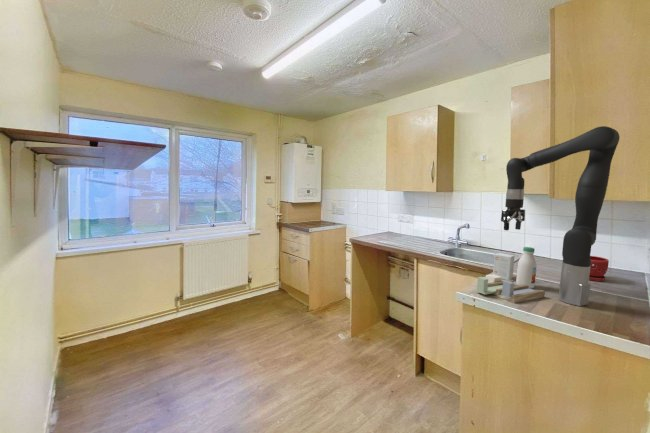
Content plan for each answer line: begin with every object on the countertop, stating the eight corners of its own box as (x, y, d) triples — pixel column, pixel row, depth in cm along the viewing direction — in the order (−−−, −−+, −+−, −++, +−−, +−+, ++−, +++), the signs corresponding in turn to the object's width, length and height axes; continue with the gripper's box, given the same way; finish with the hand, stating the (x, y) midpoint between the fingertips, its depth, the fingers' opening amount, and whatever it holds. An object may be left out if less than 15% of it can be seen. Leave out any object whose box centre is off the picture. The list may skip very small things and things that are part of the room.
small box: (512, 278, 156) (515, 255, 154) (508, 280, 152) (510, 257, 150) (496, 274, 162) (498, 252, 160) (492, 276, 158) (494, 254, 156)
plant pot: (595, 275, 163) (598, 255, 161) (612, 283, 150) (615, 261, 148) (569, 273, 166) (571, 253, 164) (583, 281, 153) (585, 259, 152)
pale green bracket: (513, 289, 136) (515, 276, 135) (484, 294, 129) (485, 280, 128) (504, 286, 140) (505, 272, 140) (475, 290, 134) (476, 276, 133)
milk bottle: (526, 289, 139) (530, 250, 137) (512, 284, 147) (515, 246, 144) (538, 288, 141) (542, 249, 139) (523, 282, 149) (527, 245, 146)
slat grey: (539, 293, 131) (541, 279, 131) (510, 298, 125) (512, 284, 124) (528, 289, 136) (530, 276, 135) (500, 294, 129) (501, 280, 129)
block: (500, 286, 143) (501, 277, 142) (493, 287, 141) (494, 278, 141) (492, 283, 148) (493, 274, 147) (485, 284, 146) (485, 274, 145)
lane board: (544, 297, 130) (545, 291, 130) (513, 303, 123) (514, 296, 123) (511, 285, 145) (511, 279, 144) (482, 289, 138) (482, 283, 138)
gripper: (512, 198, 137) (509, 231, 139) (531, 198, 142) (528, 230, 144) (497, 198, 144) (495, 229, 145) (516, 197, 149) (514, 228, 151)
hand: (512, 229), depth 145 cm, fingers open, 8 cm apart
